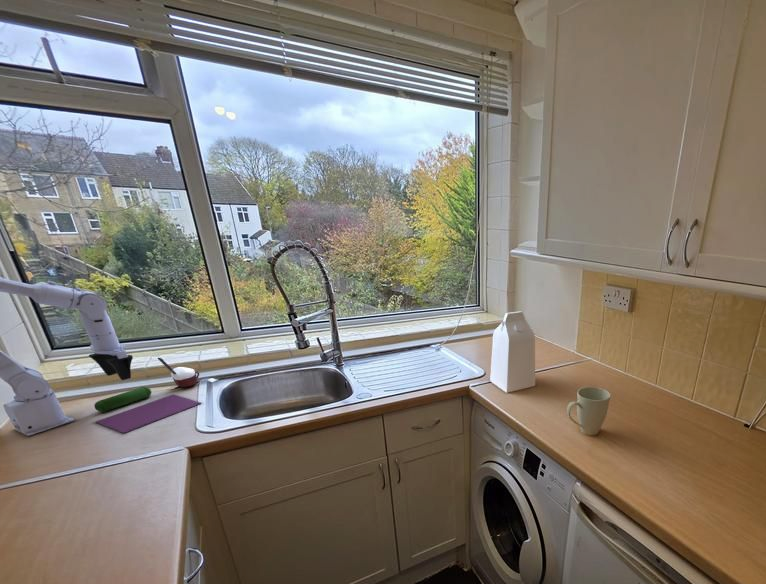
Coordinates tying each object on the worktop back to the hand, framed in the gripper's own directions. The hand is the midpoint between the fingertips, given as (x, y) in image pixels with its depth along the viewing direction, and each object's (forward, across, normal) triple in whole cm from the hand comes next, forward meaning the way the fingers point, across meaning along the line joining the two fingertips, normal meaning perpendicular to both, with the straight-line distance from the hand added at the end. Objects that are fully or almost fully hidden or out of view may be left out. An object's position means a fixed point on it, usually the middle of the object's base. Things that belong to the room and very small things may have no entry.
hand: (119, 376), depth 123 cm
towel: (+9, -13, +1) cm, 16 cm away
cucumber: (+9, 0, +1) cm, 9 cm away
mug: (+9, -134, -45) cm, 142 cm away
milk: (+9, -102, -67) cm, 122 cm away
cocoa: (+9, -2, -15) cm, 18 cm away
